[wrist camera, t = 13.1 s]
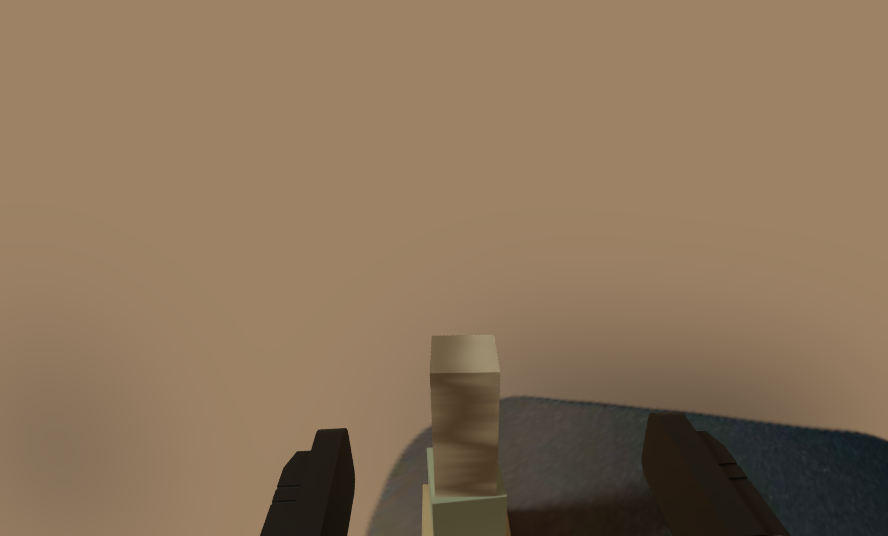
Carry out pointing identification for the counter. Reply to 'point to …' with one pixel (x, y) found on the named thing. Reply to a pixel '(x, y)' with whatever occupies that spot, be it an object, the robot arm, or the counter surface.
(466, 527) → the sage block
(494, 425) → the birch pillar
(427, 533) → the oak block
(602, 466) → the counter surface
